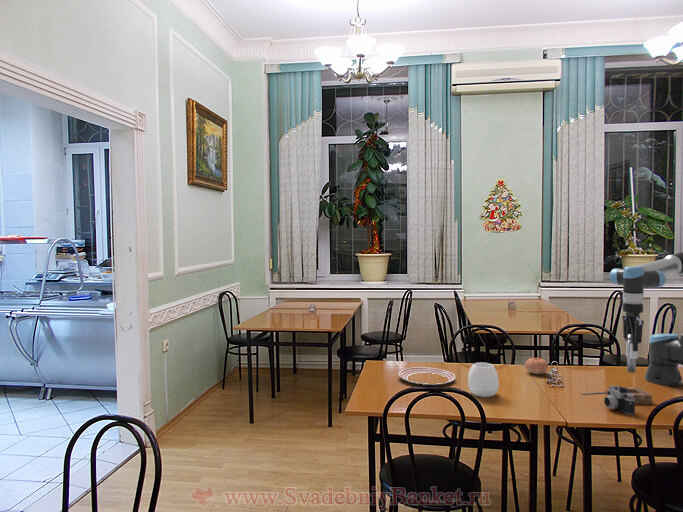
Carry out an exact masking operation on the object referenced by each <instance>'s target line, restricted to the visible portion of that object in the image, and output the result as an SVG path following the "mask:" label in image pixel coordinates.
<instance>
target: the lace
mask: <svg viewBox="0 0 683 512" xmlns="http://www.w3.org/2000/svg"><path fill="white" fill-rule="evenodd" d="M607 392H608V391H601V392H600V391H599V392H588V393H587V392H586V393H580V395H581V396H584V395H585V396H586V395H587V396H588V395H596V394H597V395H599V394H608V393H607Z"/></svg>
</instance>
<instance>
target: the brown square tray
mask: <svg viewBox="0 0 683 512" xmlns="http://www.w3.org/2000/svg"><path fill="white" fill-rule="evenodd" d="M623 387H624V388H627V389H628V391H629V393H630V395H633V398H634V399H635V405H636V404H637V405H639V404H641V405H646V404H647V405H648V404H649V405H652V404H653V395H652V394H650V393H649V392H647V391H645V390H643V389H642V388H640V387H638V386H637V387H635V386H633V387H631V386H628V387H627V386H626V387H625V386H623Z"/></svg>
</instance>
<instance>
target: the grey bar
mask: <svg viewBox="0 0 683 512" xmlns="http://www.w3.org/2000/svg"><path fill="white" fill-rule="evenodd" d="M630 342H632V337H631V334H628V349H627V356H626V358H627V359H626V361H627V363H626V372H627V373H631V374H636V371H637V359H631V358H630V345H631V343H630Z"/></svg>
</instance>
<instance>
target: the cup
mask: <svg viewBox="0 0 683 512" xmlns="http://www.w3.org/2000/svg"><path fill="white" fill-rule="evenodd" d="M467 376H468V377H467V386H468V389H469V392H470V393H471V394H472V395H474V396H476V397H479V396H480V398H491V397H493V396H494V395H496V394H497V393H498V390H499V384H500V383H499V382H500V381H499V375H498V372H497V370H496V368H495V366H494V364H491V363H490V362H489V363H488V362H475V363H473V364H472V365H471V367H470V369H469V371H468V375H467Z"/></svg>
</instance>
